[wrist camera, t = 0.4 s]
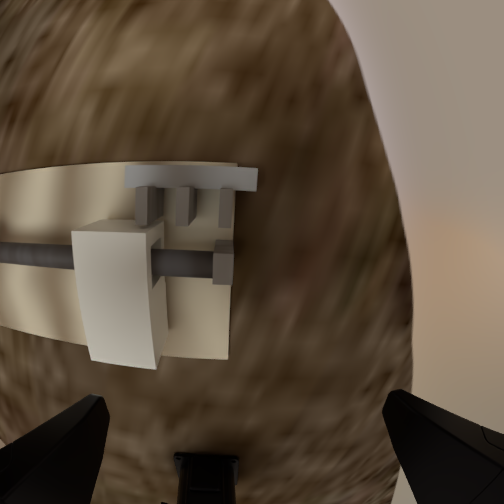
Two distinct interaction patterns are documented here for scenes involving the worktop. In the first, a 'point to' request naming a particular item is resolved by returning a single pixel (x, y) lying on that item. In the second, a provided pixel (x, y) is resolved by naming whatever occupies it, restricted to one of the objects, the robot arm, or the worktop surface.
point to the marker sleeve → (121, 291)
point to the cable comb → (143, 212)
